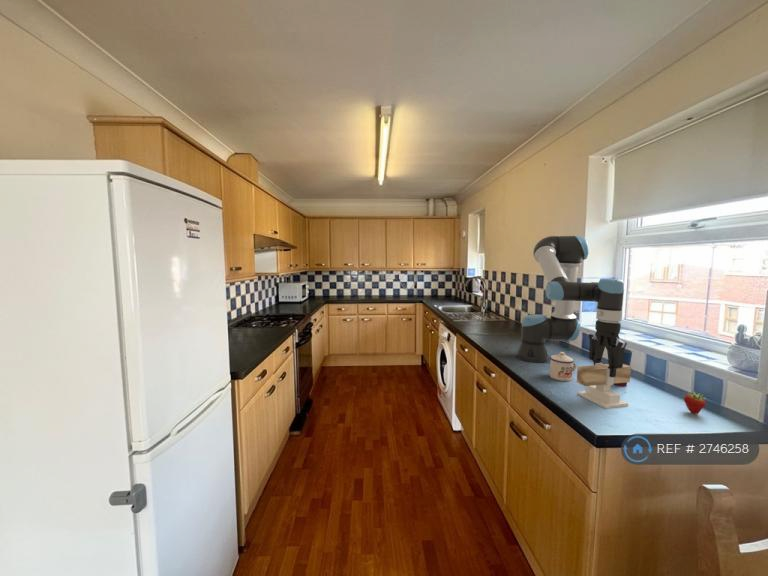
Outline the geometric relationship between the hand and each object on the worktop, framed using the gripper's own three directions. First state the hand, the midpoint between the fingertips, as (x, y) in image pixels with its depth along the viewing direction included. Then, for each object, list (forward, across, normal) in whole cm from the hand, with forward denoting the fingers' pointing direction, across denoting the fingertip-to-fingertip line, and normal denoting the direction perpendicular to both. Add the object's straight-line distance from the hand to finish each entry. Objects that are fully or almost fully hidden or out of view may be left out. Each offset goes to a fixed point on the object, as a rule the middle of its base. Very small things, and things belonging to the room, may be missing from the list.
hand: (603, 382), depth 116 cm
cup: (+7, -11, +21) cm, 25 cm away
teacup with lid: (+7, -22, +3) cm, 24 cm away
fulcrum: (+7, 0, 0) cm, 7 cm away
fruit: (+7, +15, +22) cm, 28 cm away
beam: (0, 0, 0) cm, 0 cm away
